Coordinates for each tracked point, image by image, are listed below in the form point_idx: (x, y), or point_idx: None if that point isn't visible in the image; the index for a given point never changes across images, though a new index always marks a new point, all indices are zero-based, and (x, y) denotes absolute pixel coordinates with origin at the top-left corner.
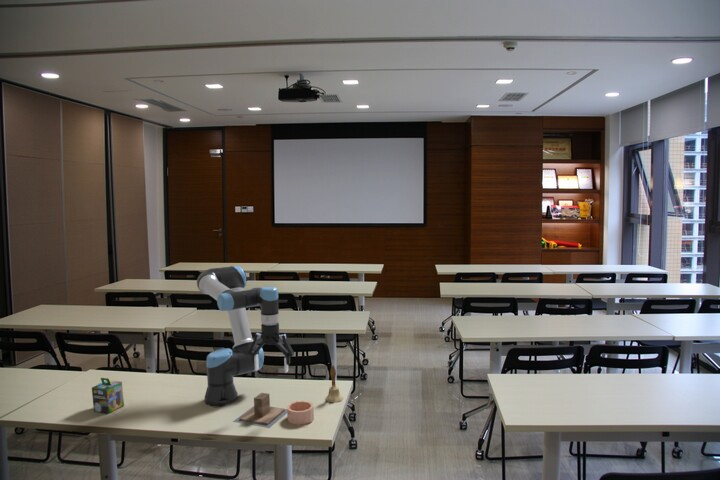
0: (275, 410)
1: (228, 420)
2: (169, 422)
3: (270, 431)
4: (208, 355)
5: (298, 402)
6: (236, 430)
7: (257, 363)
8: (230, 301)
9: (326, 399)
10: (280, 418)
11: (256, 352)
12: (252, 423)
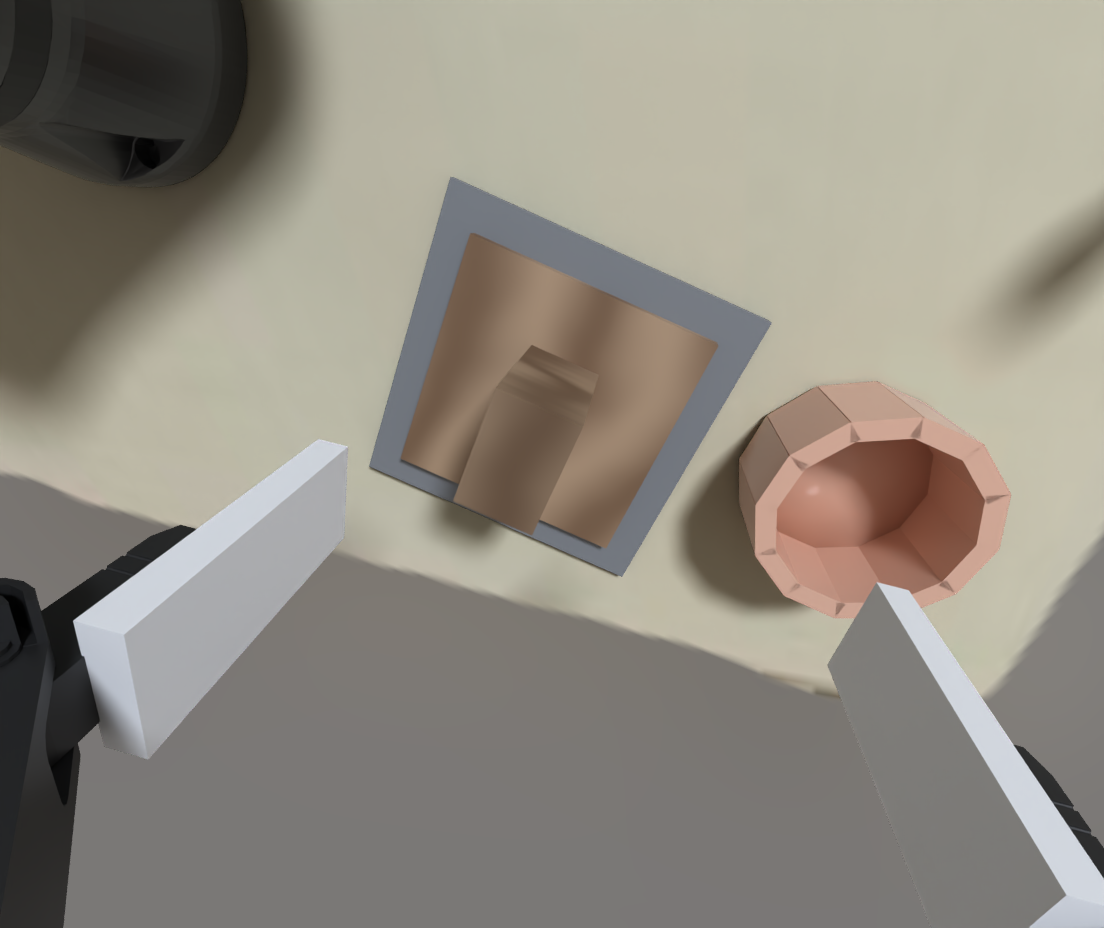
0: (641, 360)
1: (333, 424)
2: (6, 407)
3: (630, 592)
4: None
5: (868, 440)
6: (428, 552)
7: (279, 559)
8: None
9: None
10: (686, 464)
11: (54, 878)
12: None
